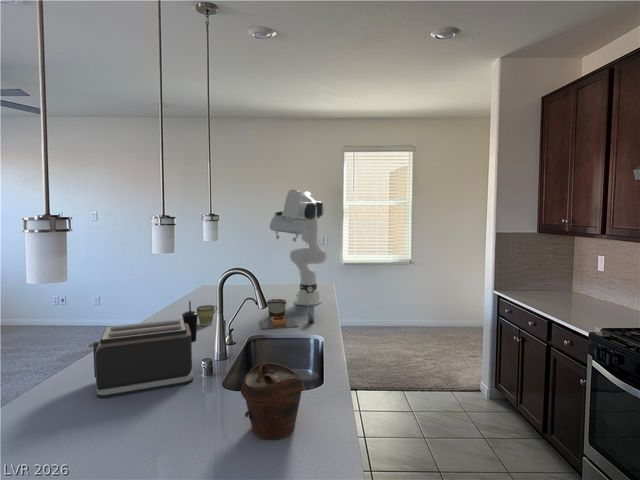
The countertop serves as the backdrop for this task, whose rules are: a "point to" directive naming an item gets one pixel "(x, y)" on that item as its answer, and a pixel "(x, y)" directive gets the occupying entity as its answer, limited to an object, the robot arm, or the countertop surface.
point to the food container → (276, 307)
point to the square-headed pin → (311, 312)
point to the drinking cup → (191, 321)
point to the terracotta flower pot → (272, 399)
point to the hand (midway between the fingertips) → (285, 239)
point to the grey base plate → (278, 323)
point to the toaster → (142, 358)
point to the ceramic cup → (206, 314)
